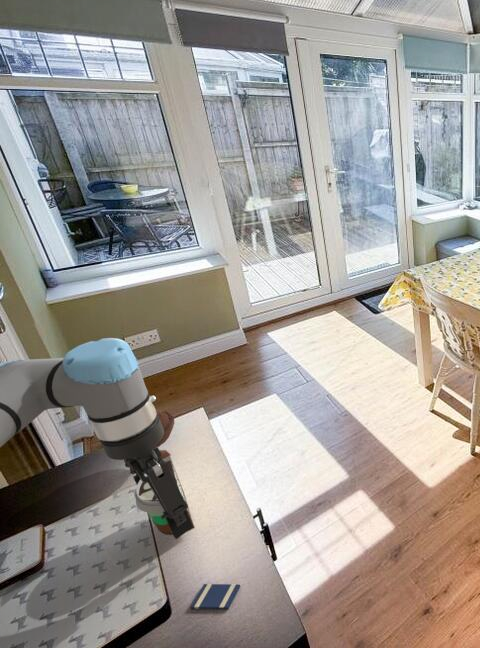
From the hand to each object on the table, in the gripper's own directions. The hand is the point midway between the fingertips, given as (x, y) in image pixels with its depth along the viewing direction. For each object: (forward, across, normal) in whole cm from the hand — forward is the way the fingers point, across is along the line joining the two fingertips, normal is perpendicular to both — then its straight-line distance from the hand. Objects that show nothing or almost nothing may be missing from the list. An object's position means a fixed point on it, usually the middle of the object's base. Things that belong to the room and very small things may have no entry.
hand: (168, 513), depth 77 cm
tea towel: (+4, -19, +1) cm, 20 cm away
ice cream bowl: (+4, +21, -4) cm, 22 cm away
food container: (+3, +1, 0) cm, 3 cm away
